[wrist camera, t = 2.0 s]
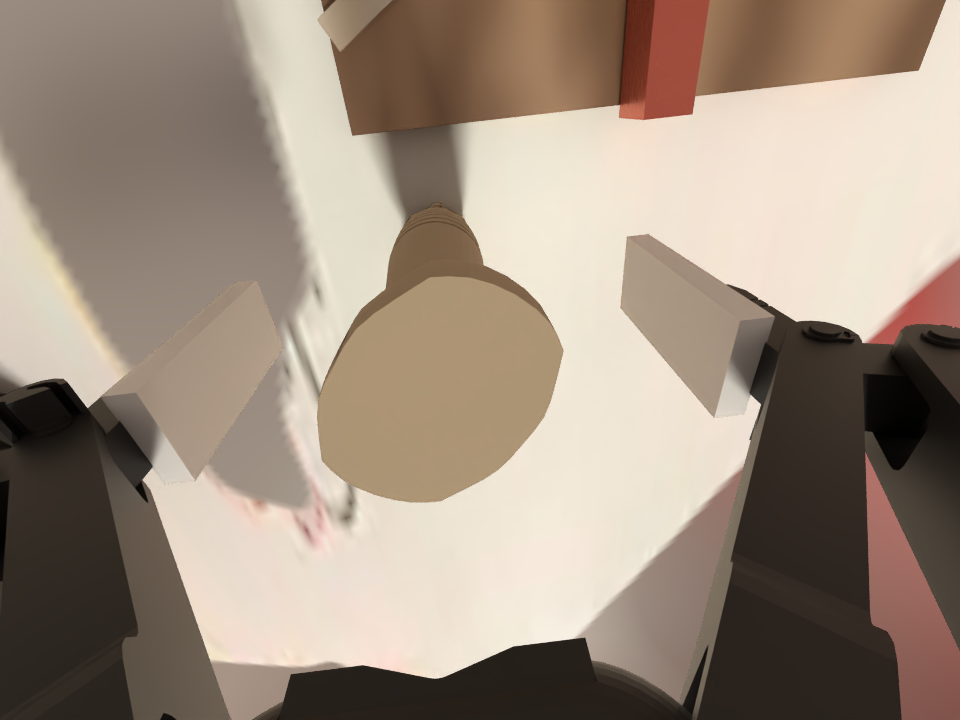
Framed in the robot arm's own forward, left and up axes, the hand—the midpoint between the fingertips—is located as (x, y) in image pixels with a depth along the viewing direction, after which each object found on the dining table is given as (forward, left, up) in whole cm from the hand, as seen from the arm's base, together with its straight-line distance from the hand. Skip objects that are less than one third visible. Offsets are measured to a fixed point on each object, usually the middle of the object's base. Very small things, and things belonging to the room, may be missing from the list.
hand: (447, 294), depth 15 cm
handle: (0, 0, -9) cm, 9 cm away
